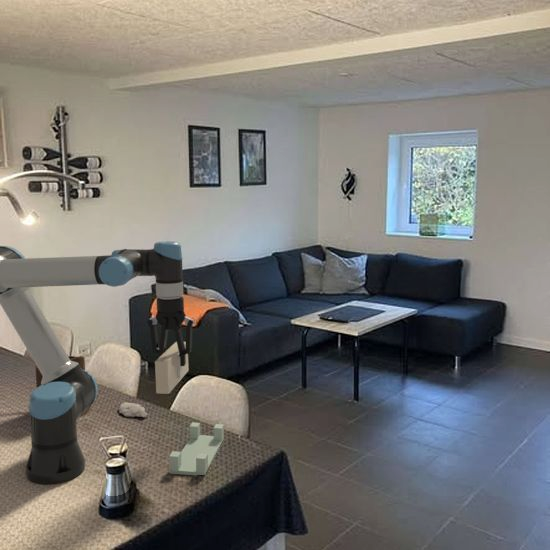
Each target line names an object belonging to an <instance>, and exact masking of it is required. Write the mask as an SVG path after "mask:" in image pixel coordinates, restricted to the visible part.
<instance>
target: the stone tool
mask: <svg viewBox="0 0 550 550" xmlns="http://www.w3.org/2000/svg"><path fill="white" fill-rule="evenodd" d="M118 410H119V414H122V415H123V416H124V417H127V418H134V417H136V418H137V417H138V418H139V417H141V418H145V417H146V416H148V413H147V412H146V407H144V406H142V405H141V404H140V403H134V402H125V401H124V402H122V403H121V404H120V405H119V408H118Z"/></svg>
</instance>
